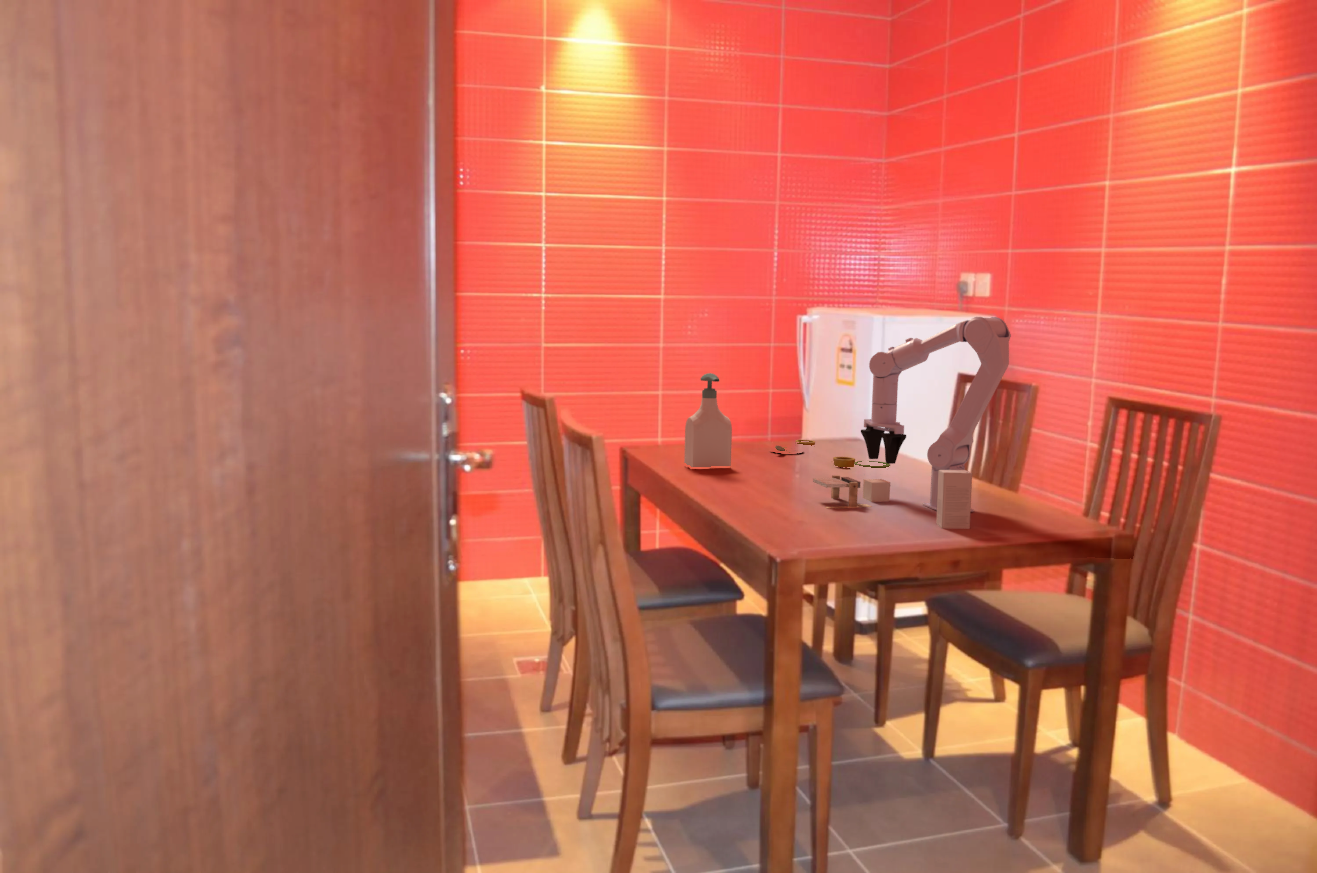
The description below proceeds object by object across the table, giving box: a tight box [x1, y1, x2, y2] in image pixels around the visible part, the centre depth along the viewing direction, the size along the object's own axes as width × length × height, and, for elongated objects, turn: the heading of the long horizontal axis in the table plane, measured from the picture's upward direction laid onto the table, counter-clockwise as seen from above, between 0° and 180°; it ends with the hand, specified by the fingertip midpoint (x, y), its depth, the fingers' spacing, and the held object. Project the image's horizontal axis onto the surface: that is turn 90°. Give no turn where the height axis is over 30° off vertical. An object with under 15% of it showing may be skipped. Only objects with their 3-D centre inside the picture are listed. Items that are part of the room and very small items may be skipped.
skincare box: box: [936, 469, 973, 530], centre depth 220 cm, size 6×4×12 cm
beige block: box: [862, 478, 891, 503], centre depth 246 cm, size 5×5×6 cm
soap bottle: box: [683, 372, 733, 467], centre depth 283 cm, size 11×8×27 cm
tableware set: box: [774, 439, 891, 468], centre depth 306 cm, size 41×28×6 cm
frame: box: [824, 474, 873, 510], centre depth 242 cm, size 11×11×6 cm
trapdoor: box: [812, 476, 861, 489], centre depth 241 cm, size 8×8×1 cm
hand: (881, 461), depth 249 cm, fingers open, 7 cm apart
